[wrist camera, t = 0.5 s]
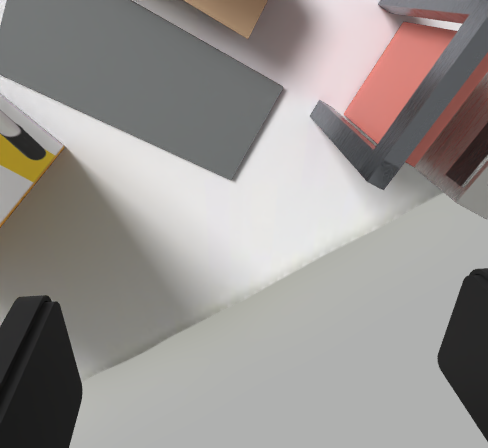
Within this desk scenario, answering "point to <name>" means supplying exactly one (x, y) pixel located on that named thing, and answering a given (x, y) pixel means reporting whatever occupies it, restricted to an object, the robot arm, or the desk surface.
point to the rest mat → (138, 76)
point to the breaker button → (407, 83)
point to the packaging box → (21, 156)
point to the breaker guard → (431, 113)
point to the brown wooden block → (233, 13)
